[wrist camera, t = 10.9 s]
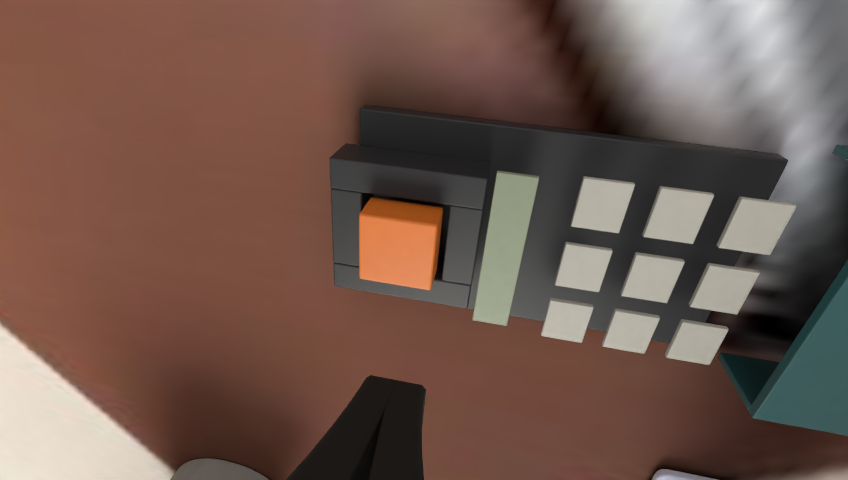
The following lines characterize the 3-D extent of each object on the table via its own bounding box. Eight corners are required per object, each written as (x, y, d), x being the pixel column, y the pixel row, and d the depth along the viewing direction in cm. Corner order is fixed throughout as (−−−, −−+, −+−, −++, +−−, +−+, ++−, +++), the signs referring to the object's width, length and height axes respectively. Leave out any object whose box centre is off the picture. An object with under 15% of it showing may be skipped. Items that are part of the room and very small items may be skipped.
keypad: (707, 361, 17) (709, 365, 17) (471, 320, 18) (471, 323, 18) (794, 203, 14) (797, 205, 14) (497, 164, 15) (497, 166, 15)
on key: (443, 206, 16) (437, 225, 15) (437, 269, 18) (430, 291, 16) (370, 196, 17) (358, 213, 15) (370, 258, 18) (358, 279, 17)
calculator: (779, 153, 15) (822, 179, 13) (688, 336, 20) (709, 378, 17) (351, 102, 17) (327, 118, 15) (352, 280, 21) (334, 312, 19)
